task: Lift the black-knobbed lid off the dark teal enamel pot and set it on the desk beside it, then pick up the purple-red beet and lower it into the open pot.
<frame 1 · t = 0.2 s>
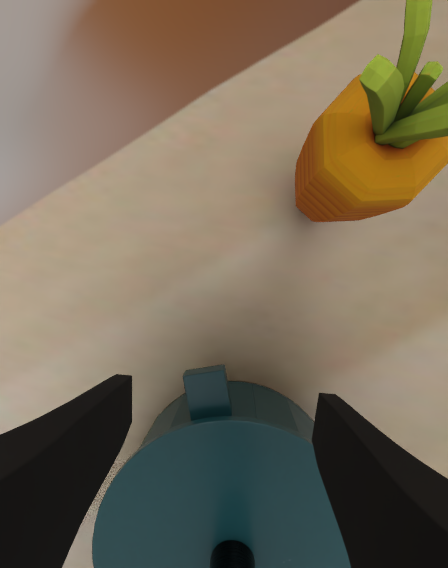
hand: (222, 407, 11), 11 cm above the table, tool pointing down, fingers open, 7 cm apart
pot lid: (232, 551, 16), point 6 cm above the table, touching pot
pot: (234, 473, 22), on the table
carrot: (309, 205, 21), on the table
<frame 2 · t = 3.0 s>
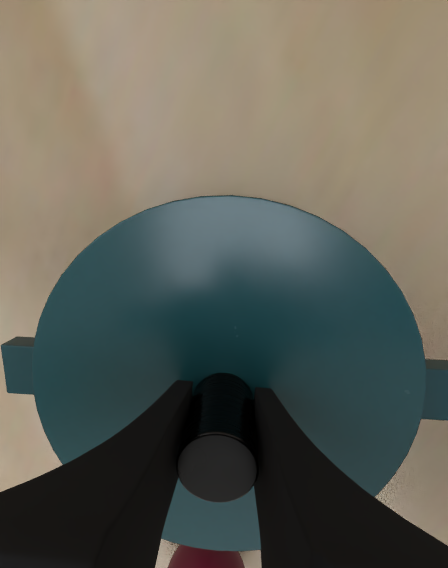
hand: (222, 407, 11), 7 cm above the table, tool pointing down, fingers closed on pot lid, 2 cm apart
pot lid: (223, 392, 12), point 6 cm above the table, touching gripper, pot
pot: (228, 335, 18), on the table
beet: (209, 540, 21), on the table
when the fingers open (2 cm above the table, at t = 7.7 s): pot lid stays where it is, point 1 cm above the table.
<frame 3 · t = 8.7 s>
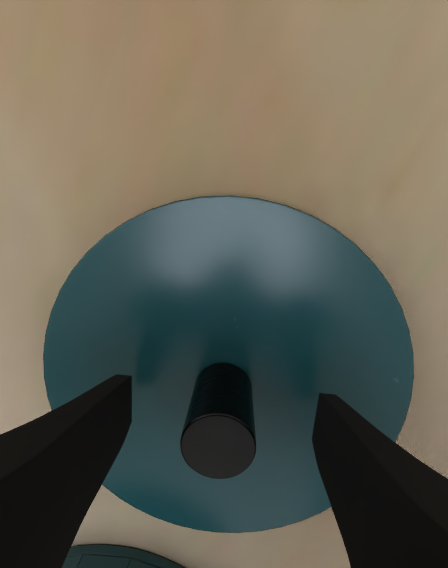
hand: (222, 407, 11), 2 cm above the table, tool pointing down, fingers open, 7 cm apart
pot lid: (223, 381, 13), point 1 cm above the table
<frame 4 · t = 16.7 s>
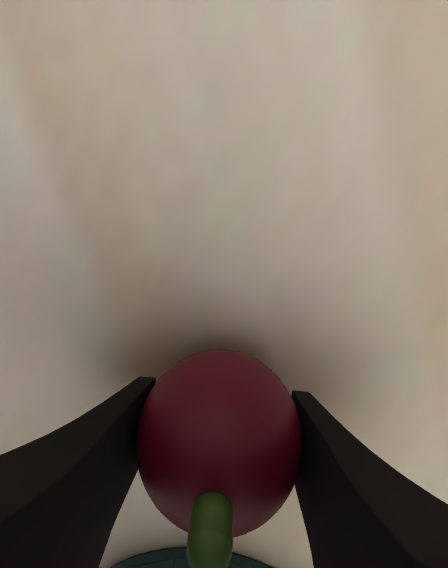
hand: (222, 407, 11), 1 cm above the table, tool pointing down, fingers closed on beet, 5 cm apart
beet: (223, 386, 12), on the table, touching gripper
when the fingers open (2 cm above the table, at t = 22.5 s): beet stays where it is, resting on pot.
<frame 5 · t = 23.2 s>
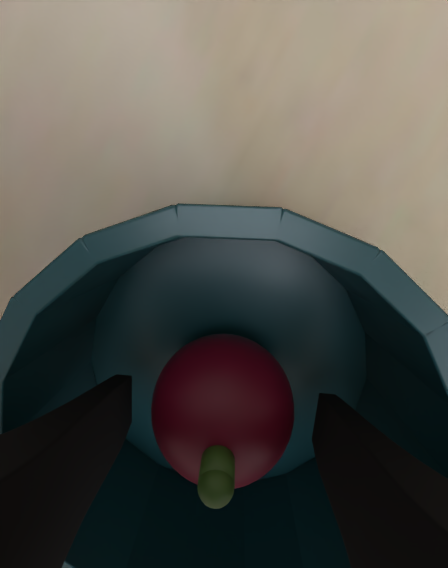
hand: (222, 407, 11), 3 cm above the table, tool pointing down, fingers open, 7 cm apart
pot: (226, 364, 14), on the table
beet: (225, 369, 14), resting on pot
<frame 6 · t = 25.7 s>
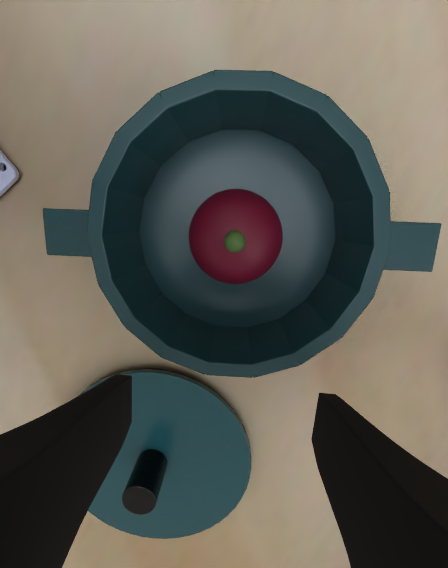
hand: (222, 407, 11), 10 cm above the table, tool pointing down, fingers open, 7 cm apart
pot lid: (154, 456, 23), point 1 cm above the table
pot: (236, 235, 20), on the table
beet: (235, 235, 19), resting on pot
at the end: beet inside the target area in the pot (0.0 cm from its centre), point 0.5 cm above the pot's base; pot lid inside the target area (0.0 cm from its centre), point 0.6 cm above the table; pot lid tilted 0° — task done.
